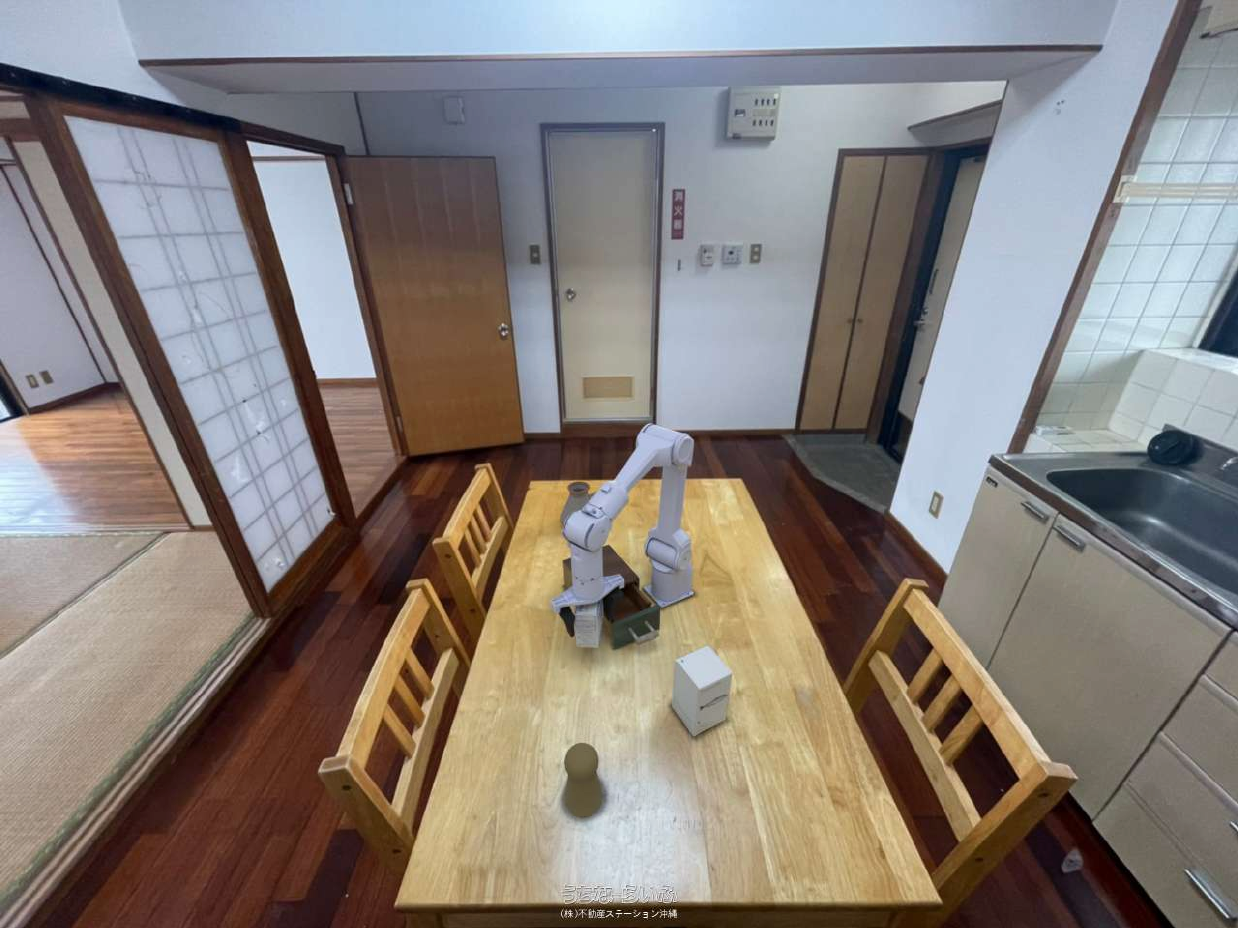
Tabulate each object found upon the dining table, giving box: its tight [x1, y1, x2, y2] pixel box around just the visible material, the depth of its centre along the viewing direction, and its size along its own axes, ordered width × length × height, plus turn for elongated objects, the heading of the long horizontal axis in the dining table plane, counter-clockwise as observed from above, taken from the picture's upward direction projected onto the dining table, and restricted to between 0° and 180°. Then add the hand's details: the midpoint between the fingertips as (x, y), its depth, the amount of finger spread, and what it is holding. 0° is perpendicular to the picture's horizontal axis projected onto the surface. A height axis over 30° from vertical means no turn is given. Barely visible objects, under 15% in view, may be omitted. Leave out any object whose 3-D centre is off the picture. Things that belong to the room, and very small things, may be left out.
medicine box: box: [573, 599, 603, 649], centre depth 100 cm, size 8×4×9 cm, turn 175°
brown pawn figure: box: [563, 742, 604, 819], centre depth 80 cm, size 6×6×11 cm
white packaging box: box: [671, 644, 733, 737], centre depth 92 cm, size 7×7×13 cm
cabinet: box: [562, 544, 640, 590], centre depth 122 cm, size 15×13×8 cm
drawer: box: [602, 583, 661, 650], centre depth 112 cm, size 18×11×6 cm, turn 29°
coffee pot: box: [559, 480, 597, 526], centre depth 147 cm, size 21×12×15 cm, turn 92°
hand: (589, 625), depth 101 cm, fingers closed on medicine box, 7 cm apart
